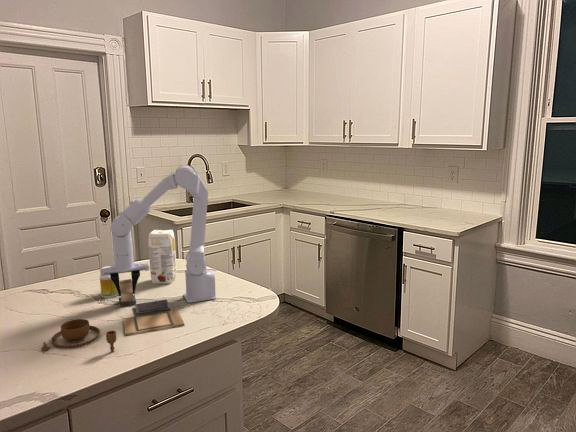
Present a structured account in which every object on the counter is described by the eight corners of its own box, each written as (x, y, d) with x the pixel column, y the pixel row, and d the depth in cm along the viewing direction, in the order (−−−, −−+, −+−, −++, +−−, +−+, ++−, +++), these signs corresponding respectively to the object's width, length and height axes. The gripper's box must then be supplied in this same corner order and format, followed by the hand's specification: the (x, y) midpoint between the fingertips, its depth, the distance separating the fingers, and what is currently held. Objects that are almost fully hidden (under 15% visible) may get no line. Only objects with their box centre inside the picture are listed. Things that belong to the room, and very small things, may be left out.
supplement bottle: (112, 298, 149) (110, 270, 147) (98, 297, 150) (95, 269, 148) (121, 292, 154) (119, 265, 152) (107, 291, 155) (105, 264, 153)
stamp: (134, 299, 148) (133, 278, 147) (136, 304, 144) (134, 282, 142) (118, 301, 146) (117, 280, 145) (119, 307, 142) (117, 285, 140)
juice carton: (172, 284, 162) (170, 233, 158) (149, 284, 162) (146, 233, 158) (178, 277, 169) (175, 228, 166) (155, 277, 169) (152, 228, 166)
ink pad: (167, 302, 146) (166, 298, 146) (170, 310, 139) (170, 307, 139) (135, 307, 142) (134, 303, 142) (137, 316, 135) (136, 312, 135)
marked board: (177, 311, 139) (177, 308, 139) (184, 325, 129) (184, 323, 129) (123, 320, 133) (123, 317, 132) (125, 335, 123) (125, 333, 122)
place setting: (107, 325, 131) (106, 306, 130) (121, 354, 114) (120, 333, 113) (39, 339, 122) (37, 319, 121) (44, 373, 105) (41, 350, 104)
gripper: (146, 247, 148) (148, 286, 151) (98, 252, 142) (102, 293, 145) (148, 253, 142) (151, 293, 144) (99, 258, 136) (102, 300, 139)
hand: (126, 293), depth 144 cm, fingers closed on stamp, 4 cm apart
